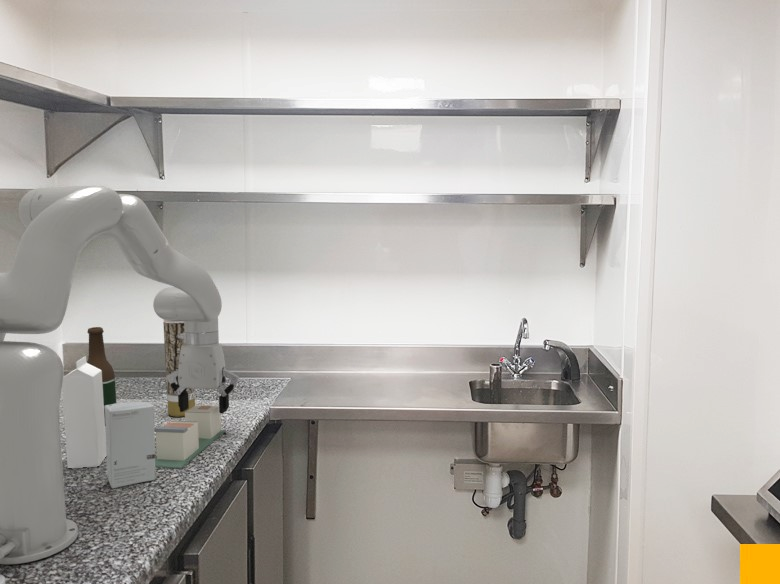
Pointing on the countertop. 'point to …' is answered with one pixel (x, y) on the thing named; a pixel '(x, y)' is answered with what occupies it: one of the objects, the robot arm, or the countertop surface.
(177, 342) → the paper tube
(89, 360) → the beer bottle
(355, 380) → the countertop surface
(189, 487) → the countertop surface
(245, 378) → the countertop surface
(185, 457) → the lidded cream box
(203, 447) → the mat
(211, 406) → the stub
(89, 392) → the milk
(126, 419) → the skincare box
